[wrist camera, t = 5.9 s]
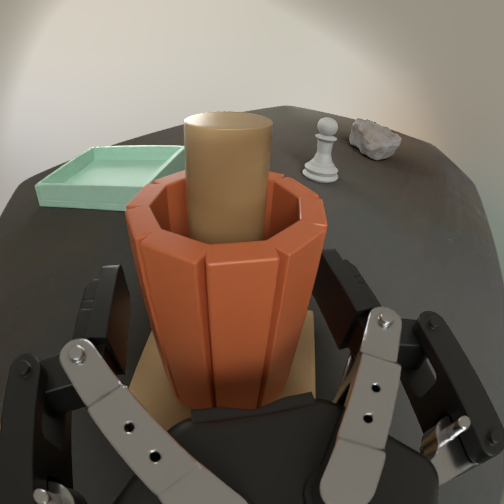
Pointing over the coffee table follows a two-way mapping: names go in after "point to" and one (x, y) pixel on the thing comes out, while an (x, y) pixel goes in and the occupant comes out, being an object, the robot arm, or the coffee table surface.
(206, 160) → the peg stand
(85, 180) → the tray
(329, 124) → the chess piece
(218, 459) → the robot arm
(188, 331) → the ring collar
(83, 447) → the coffee table surface
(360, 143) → the stone
